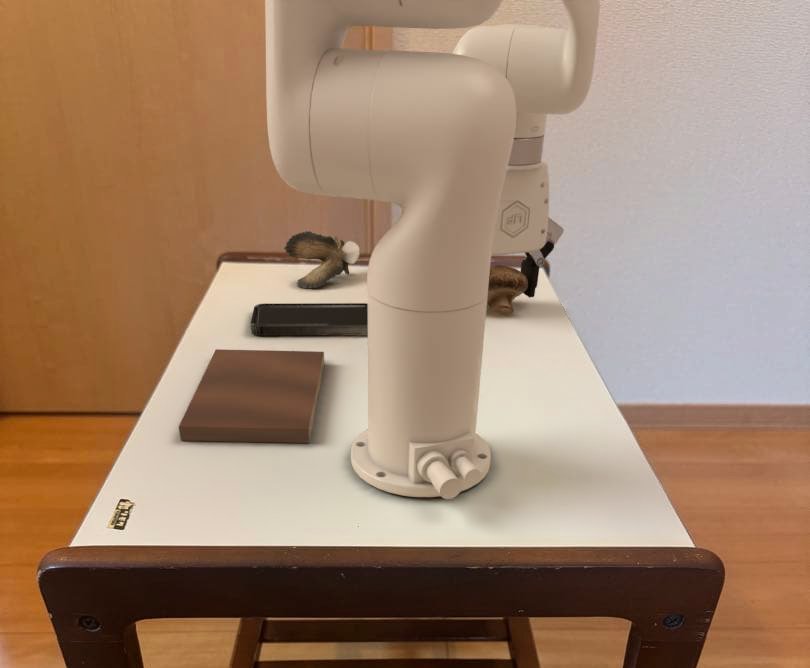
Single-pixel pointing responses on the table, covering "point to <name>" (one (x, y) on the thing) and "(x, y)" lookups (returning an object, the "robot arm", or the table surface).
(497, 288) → the mushroom
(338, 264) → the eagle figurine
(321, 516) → the table surface
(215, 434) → the cutting board
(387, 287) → the robot arm
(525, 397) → the table surface
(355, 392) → the table surface
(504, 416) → the table surface
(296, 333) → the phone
